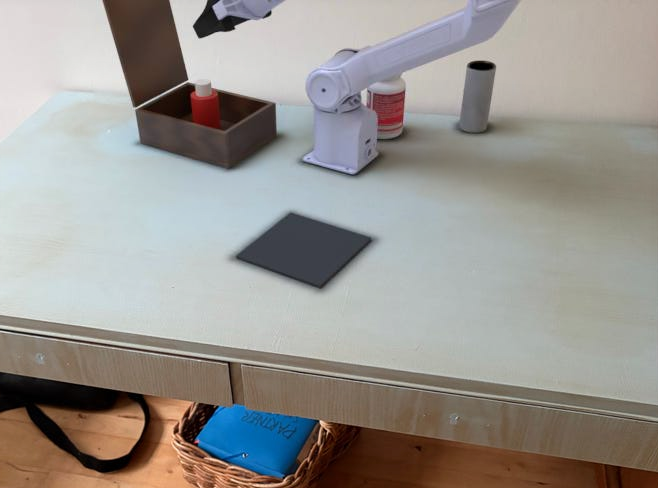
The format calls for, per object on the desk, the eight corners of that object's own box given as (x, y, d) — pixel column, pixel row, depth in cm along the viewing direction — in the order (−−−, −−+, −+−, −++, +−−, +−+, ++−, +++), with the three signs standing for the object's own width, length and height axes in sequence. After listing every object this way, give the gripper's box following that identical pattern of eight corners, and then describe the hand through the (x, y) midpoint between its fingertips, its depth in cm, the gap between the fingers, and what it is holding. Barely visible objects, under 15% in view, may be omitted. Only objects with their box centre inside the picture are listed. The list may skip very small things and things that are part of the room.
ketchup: (226, 133, 126) (222, 79, 120) (210, 143, 123) (205, 88, 117) (206, 127, 128) (200, 74, 122) (189, 137, 125) (183, 83, 119)
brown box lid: (159, -43, 119) (140, -41, 121) (98, -22, 111) (80, -20, 113) (188, 80, 130) (171, 79, 132) (135, 107, 122) (118, 107, 124)
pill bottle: (409, 133, 125) (415, 66, 117) (381, 143, 122) (385, 75, 115) (385, 121, 128) (389, 55, 121) (357, 130, 126) (360, 64, 119)
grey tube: (471, 119, 128) (480, 58, 121) (492, 127, 125) (502, 65, 118) (453, 126, 126) (461, 65, 119) (473, 135, 123) (482, 72, 116)
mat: (371, 240, 100) (371, 237, 100) (320, 288, 92) (320, 285, 92) (290, 214, 106) (290, 212, 106) (235, 258, 98) (235, 255, 98)
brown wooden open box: (276, 136, 126) (275, 102, 122) (228, 169, 117) (225, 133, 114) (191, 114, 134) (187, 82, 130) (140, 143, 126) (134, 109, 122)
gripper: (287, -53, 110) (226, -8, 120) (231, -38, 101) (169, 10, 110) (309, -7, 112) (247, 35, 122) (255, 13, 103) (193, 56, 112)
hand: (211, 26), depth 116 cm, fingers open, 7 cm apart
